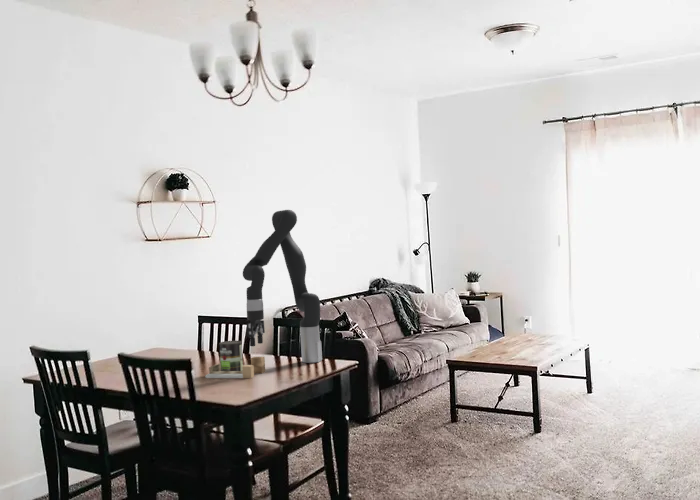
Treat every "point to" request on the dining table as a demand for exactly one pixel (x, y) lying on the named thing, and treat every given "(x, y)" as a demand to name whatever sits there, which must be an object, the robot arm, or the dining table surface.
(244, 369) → the empty strip
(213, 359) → the dining table surface
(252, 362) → the frame
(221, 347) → the coffee can
